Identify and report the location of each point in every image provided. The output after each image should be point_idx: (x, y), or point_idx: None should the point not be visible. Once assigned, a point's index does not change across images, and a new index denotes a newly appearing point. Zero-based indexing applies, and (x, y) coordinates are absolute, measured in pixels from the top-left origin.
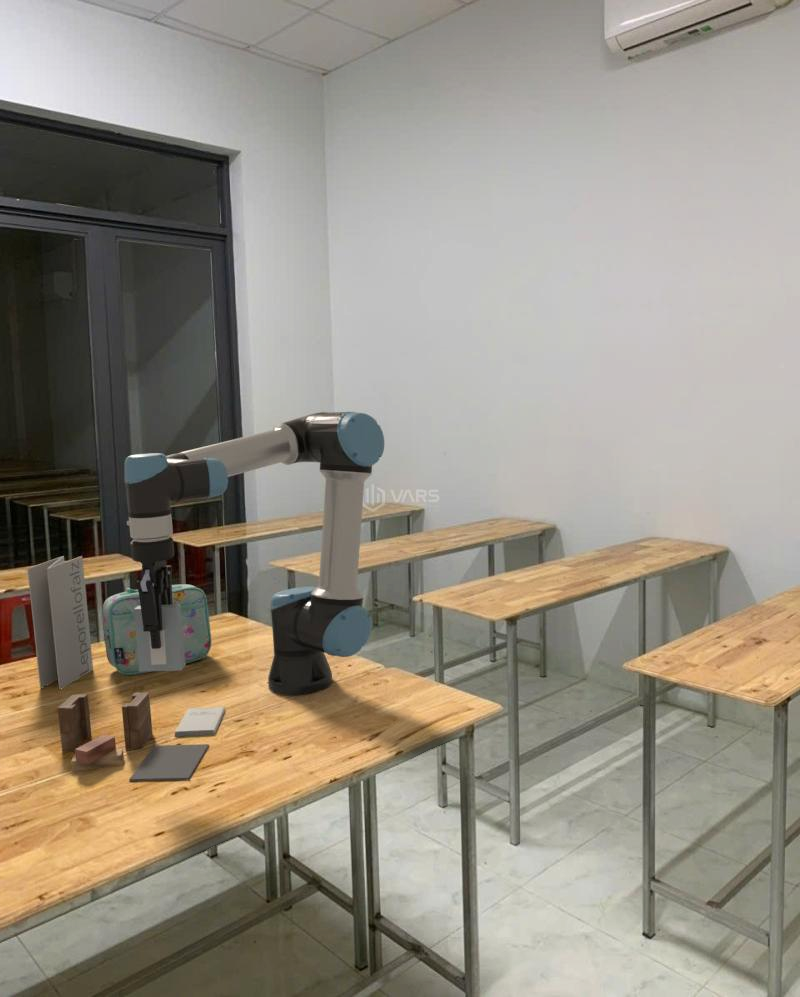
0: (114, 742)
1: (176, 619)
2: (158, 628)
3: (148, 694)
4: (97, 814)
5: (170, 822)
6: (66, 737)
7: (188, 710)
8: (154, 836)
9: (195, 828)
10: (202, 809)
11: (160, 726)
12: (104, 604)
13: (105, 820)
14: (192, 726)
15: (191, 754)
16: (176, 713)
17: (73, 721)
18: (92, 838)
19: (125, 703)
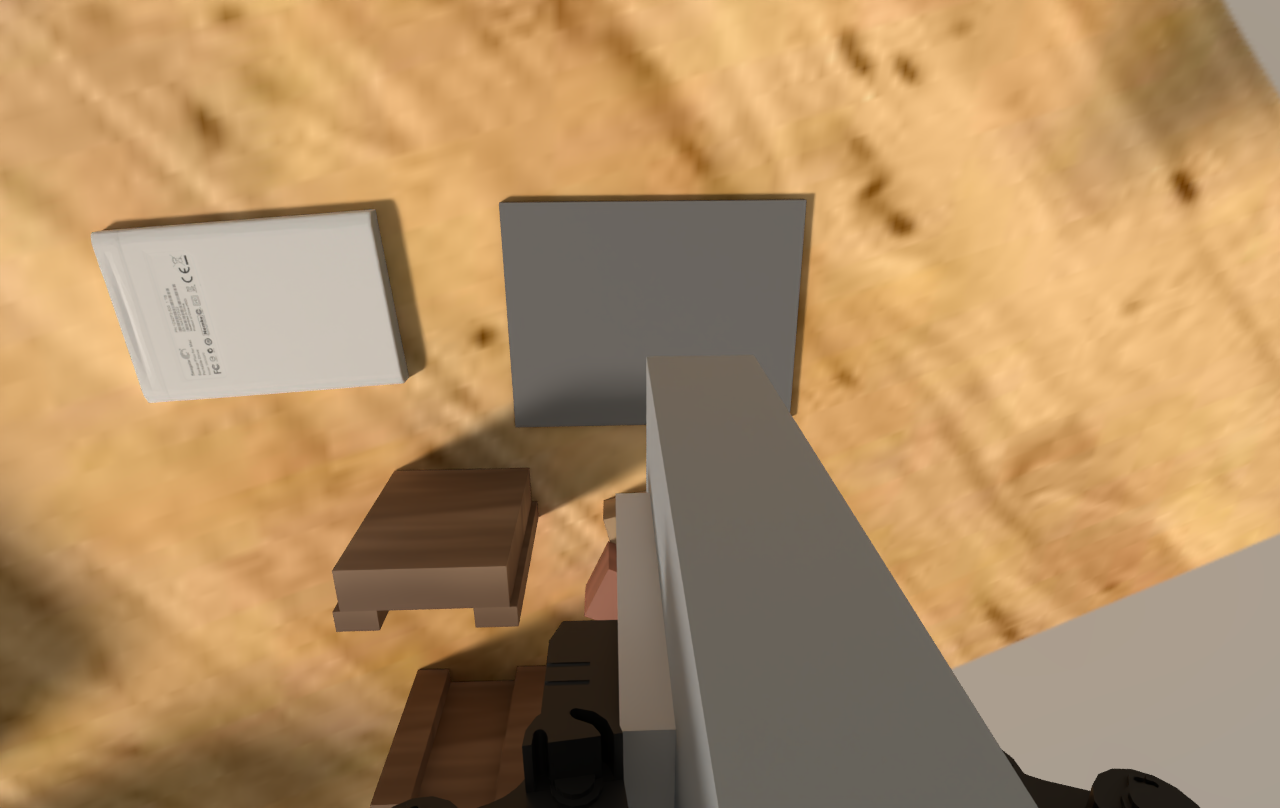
0: (612, 558)
1: (938, 675)
2: (1149, 785)
3: (342, 566)
4: (1001, 437)
5: (1118, 171)
6: None
7: (169, 394)
8: (1197, 199)
9: (1188, 58)
10: (1053, 71)
11: (318, 464)
12: None
13: (1046, 398)
14: (342, 323)
15: (598, 251)
16: (177, 443)
17: None
18: (1148, 396)
19: (476, 625)
